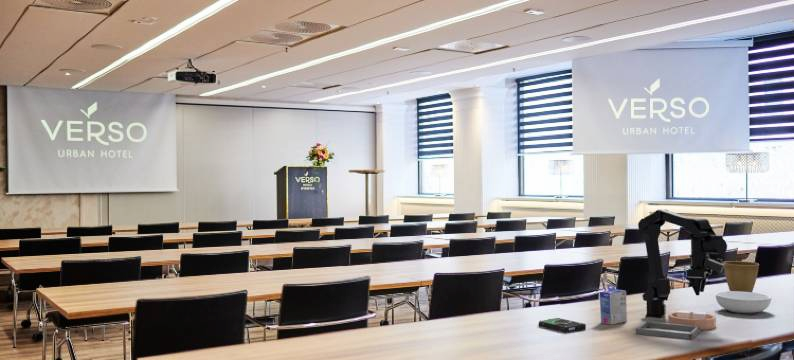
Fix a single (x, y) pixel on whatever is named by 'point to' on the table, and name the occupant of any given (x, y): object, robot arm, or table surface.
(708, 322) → the bowl
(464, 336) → the table surface
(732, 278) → the plant pot
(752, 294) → the serving bowl
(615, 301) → the ink cartridge box
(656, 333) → the parts tray
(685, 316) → the white matte cube
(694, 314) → the pale grey cubic block
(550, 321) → the disk drive
